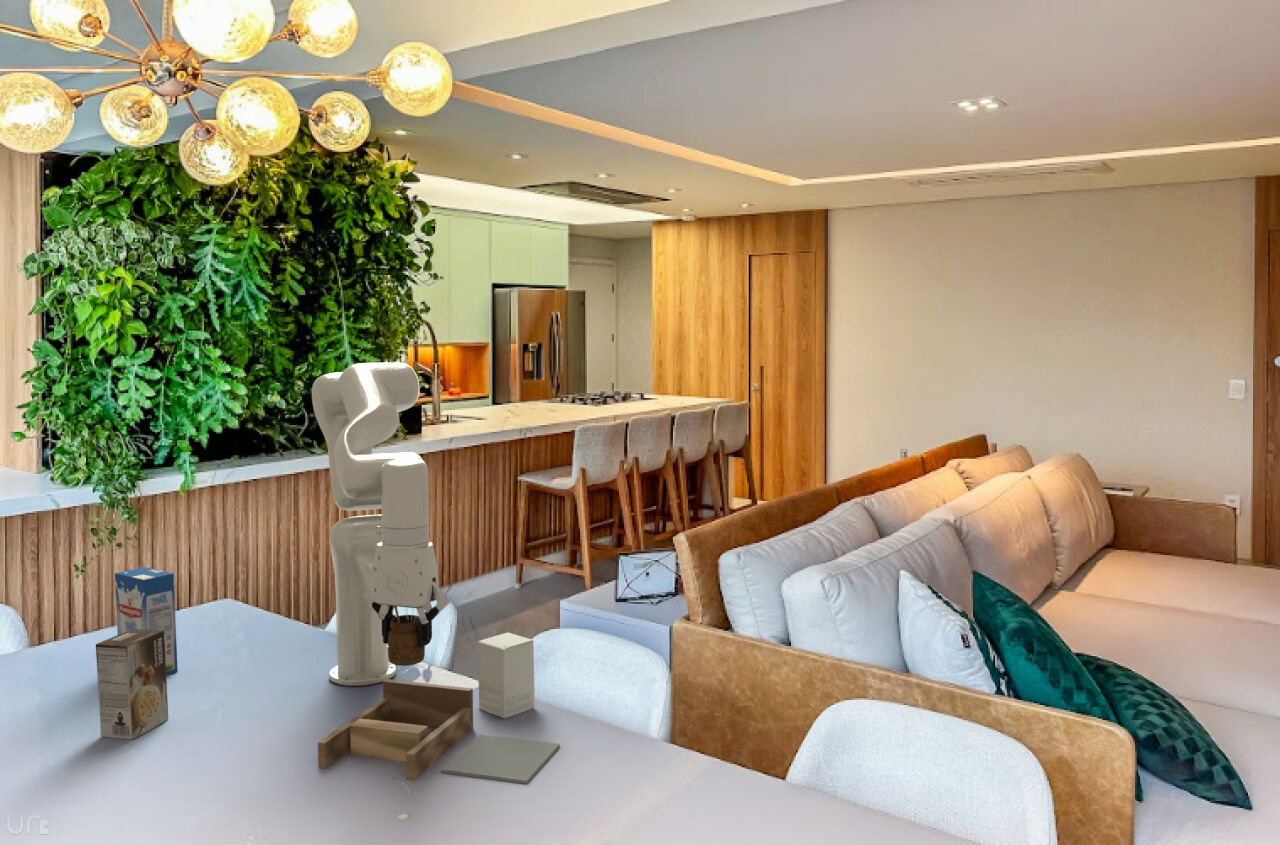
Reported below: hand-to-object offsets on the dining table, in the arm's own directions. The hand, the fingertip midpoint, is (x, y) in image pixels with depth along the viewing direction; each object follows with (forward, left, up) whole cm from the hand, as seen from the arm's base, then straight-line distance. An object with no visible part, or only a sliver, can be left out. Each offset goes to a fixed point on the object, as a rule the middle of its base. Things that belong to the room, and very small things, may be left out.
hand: (406, 642), depth 163 cm
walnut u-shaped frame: (+4, 0, -16) cm, 17 cm away
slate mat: (+3, +18, -16) cm, 25 cm away
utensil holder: (0, 0, -3) cm, 3 cm away
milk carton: (-15, -66, -17) cm, 69 cm away
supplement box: (-17, +10, -17) cm, 26 cm away
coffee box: (+9, -47, -17) cm, 50 cm away
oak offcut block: (+7, 0, -17) cm, 18 cm away
